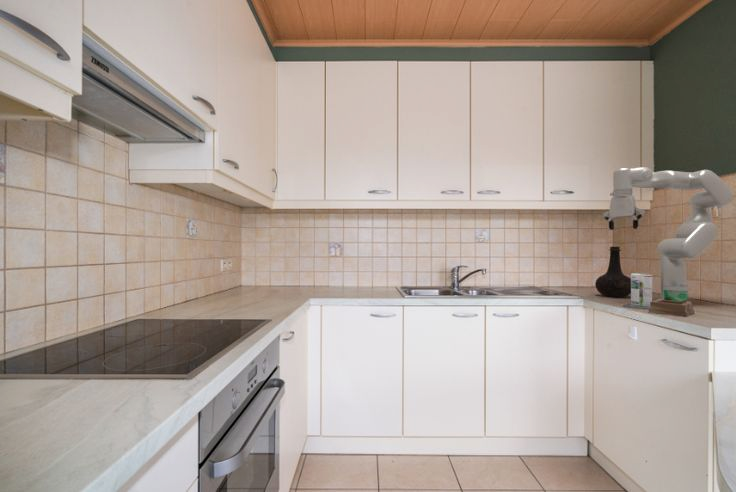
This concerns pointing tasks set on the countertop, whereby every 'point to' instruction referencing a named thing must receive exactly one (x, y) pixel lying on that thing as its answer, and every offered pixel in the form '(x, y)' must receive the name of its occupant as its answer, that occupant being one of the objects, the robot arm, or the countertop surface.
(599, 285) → the glass bottle
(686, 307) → the socket
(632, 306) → the plate
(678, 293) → the food container
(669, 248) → the robot arm
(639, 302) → the syrup box
